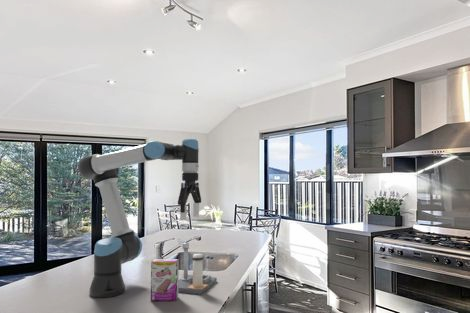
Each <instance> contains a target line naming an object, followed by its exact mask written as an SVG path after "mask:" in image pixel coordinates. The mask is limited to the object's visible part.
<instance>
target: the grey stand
mask: <svg viewBox="0 0 470 313" xmlns="http://www.w3.org/2000/svg"><path fill="white" fill-rule="evenodd" d="M188 253H189V249H183V277H181V278H179V279H178V293H180V294H181V293H183V294H191V295H202V294H203V293H204V292H205V291H207V290H208V289H210V287H212V286H213V285H214V284H216V283H217V279H218V278H217V277H213V276H212V275H210V274H209V275H207V274H203V286H202V287H193V274H192V275H191V274H189V268H188V267H189V266H188V265H189V261H188V260H189V258H188V257H189V254H188Z"/></svg>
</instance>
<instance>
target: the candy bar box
mask: <svg viewBox="0 0 470 313" xmlns="http://www.w3.org/2000/svg"><path fill="white" fill-rule="evenodd" d="M179 261H180V260H179V259H177V258H176V259H175V258H171V259H169V258H168V259H167V258H164V259H163V258H158V259H157V258H154V259H152V261H151V265H150V267H151V268H150V271H151V272H150V301H151V302H155V301H156V302H158V301H159V302H161V301H162V302H165V301H167V302H169V301H170V302H173V301H175V302H176V301H177V300H178V297H179V292H178V280H179V270H180V265H179Z"/></svg>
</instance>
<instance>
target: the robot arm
mask: <svg viewBox="0 0 470 313" xmlns="http://www.w3.org/2000/svg"><path fill="white" fill-rule="evenodd" d="M199 150H200V148H199V141H198V140H197V139H195V138H186V139H185V138H184V139H183V140H182V141H181V143H166V142H162V141H159V140H158V141H157V140H151V141H148V142H147V143H146V144H142V145H137V146H134V147H130V148H125V149H121V150H117V151H112V152H109V153H104V154H99V153H95V154H91V155H85V156H84V157H82V158H81V159H80V160H79V162H78V165H77V171H78V173H79V175H80V176H82V177H83V178H84V179H86V180H92V181H93V183H94V186H95V187H97V188H98V189H99V192H100V196H101V198H102V199H101V200H102V203H103V206H104V211H105V214H106V217H107V221H108V224H109V228H110V232H111V235H110V237H107V238H101V239H100V240H97V241H96V243H95V244H94V250H93V254H94V255H93V256H94V258H93V277H92V281H91V284H90V288H89V296H90V297H92V298H100V299H102V298H103V299H104V298H112V297H117V296H120V295H121V294H124V293H125V291H126V284H125V282H124V278H123V274H122V265H123V264H126V263H129V262H131V261H133V260H135V259H137V258H138V257H139V256H140V255H141V254H142V253H141V252H142V250H143V243H142V240H141V238H140V237H139V236H138V235H136V234H135V231H134V229H131V228H130V224H129V222H128V218H127V215H126V211H125V207H124V203H123V200H122V197H121V194H120V191H119V190H120V189H119V187H118V181H119V175H120V172H121V168H124V167H128V166H132V165H136V164H141V163H145V162H149V161H154V160H161V161H181V172H182V174H181V178H182V179H181V180H182V181H183V182H181V184H180V190H179V191H180V192H179V194H178V200H177V205H178V206H180V207H179V208H180V210H179V212H180V214H179V215H180V218H179V219H180V221H187V218H188V216H187V213H188V210H187V209H188V208H187V207H188V206H187V202H188V198H189V196H190V194H191V196H192V200H193V203H192V204H193V207H192V210H193V211H192V214H193V215H192V216H193V217H192V218H194V217H196V218H197V217H200V203H202V196H201V191H200V186H199V185H200V184H199V182H198V181H199V167H200V165H199V152H200V151H199Z"/></svg>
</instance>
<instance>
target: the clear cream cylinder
mask: <svg viewBox="0 0 470 313" xmlns="http://www.w3.org/2000/svg"><path fill="white" fill-rule="evenodd" d="M203 255H204V254H203V253H193V254H192V257H191V260H192V275H193V287H202V286H203V275H204V274H203V272H204V271H203V266H204V265H203V262H204V256H203Z"/></svg>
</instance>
